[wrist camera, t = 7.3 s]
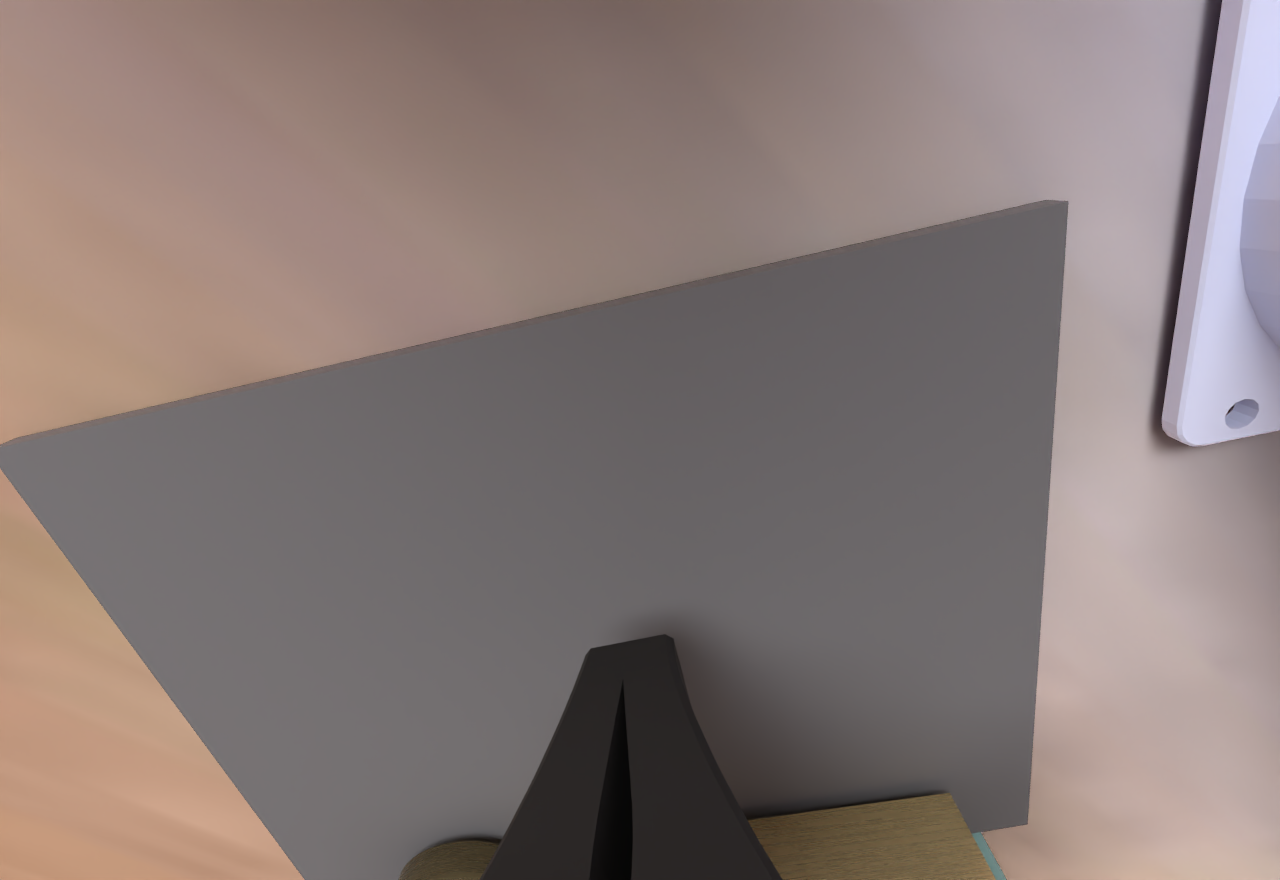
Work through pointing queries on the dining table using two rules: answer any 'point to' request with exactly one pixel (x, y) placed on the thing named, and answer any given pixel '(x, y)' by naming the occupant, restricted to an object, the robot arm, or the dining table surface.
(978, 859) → the swing latch
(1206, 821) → the dining table surface
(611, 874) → the robot arm
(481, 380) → the plate
